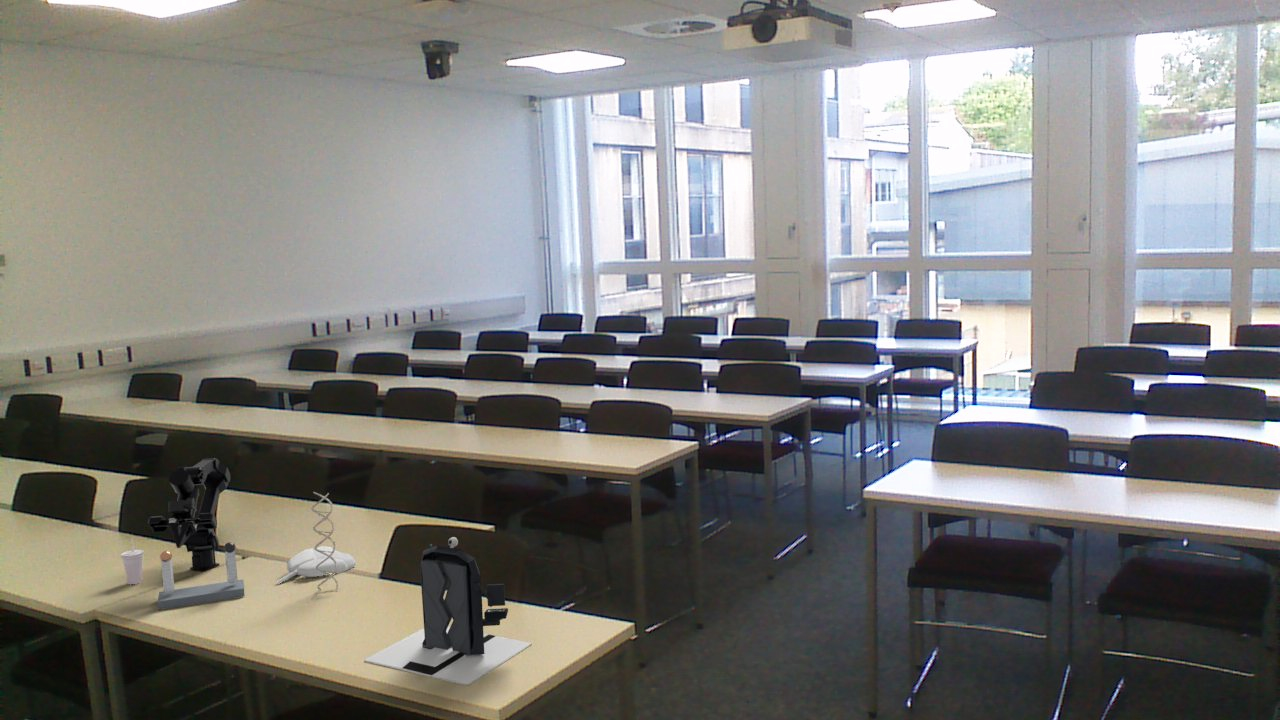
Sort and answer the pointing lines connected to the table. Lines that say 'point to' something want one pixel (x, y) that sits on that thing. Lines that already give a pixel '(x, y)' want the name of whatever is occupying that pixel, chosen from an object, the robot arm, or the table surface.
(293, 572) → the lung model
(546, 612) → the table surface
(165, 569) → the copper knob rod
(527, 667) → the table surface
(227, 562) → the beige grey bar
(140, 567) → the smoothie
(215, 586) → the switch board
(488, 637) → the slab on white base
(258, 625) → the table surface
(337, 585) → the dna model
